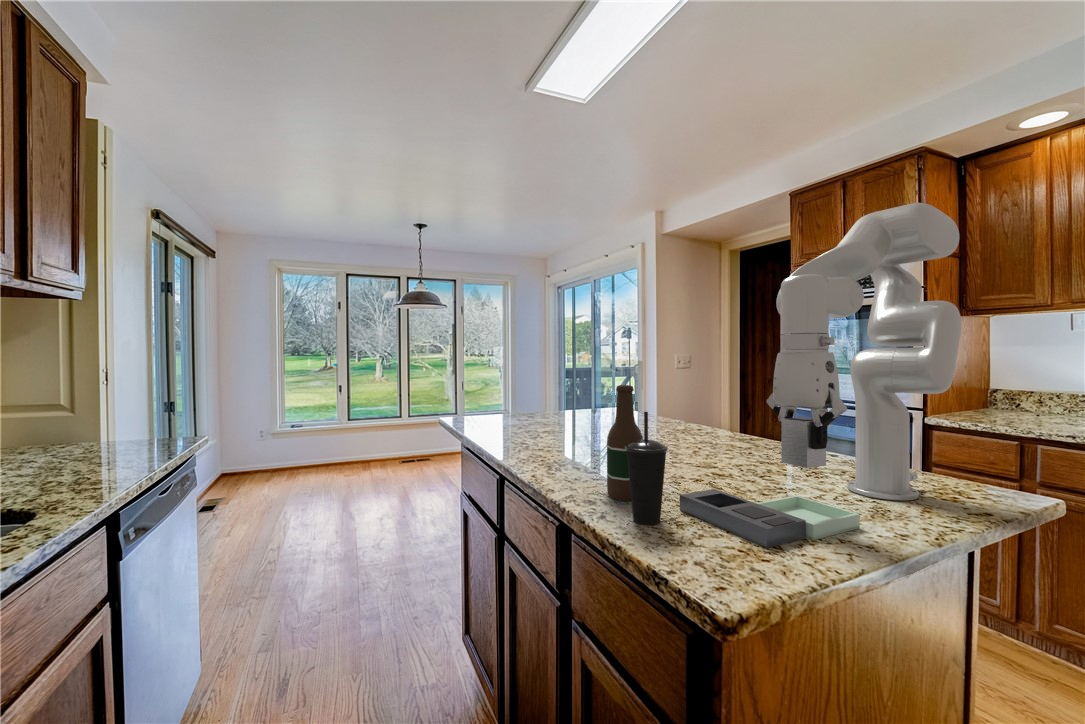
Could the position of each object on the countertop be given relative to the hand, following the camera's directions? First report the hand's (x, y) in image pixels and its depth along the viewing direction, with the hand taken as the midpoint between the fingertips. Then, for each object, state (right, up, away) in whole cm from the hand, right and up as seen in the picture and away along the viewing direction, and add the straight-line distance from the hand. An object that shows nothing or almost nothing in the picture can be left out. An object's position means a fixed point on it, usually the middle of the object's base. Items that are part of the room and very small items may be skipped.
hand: (803, 444), depth 83 cm
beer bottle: (-29, -14, +17) cm, 36 cm away
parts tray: (0, -14, 0) cm, 14 cm away
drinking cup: (-28, -14, +2) cm, 31 cm away
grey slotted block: (-12, -14, 0) cm, 18 cm away
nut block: (0, -3, 0) cm, 3 cm away
